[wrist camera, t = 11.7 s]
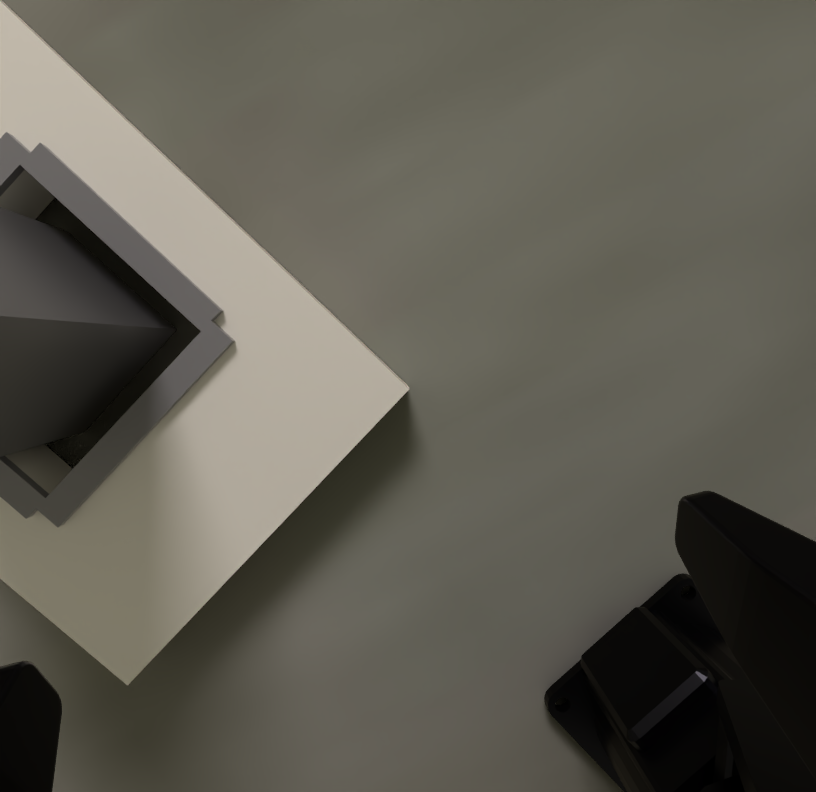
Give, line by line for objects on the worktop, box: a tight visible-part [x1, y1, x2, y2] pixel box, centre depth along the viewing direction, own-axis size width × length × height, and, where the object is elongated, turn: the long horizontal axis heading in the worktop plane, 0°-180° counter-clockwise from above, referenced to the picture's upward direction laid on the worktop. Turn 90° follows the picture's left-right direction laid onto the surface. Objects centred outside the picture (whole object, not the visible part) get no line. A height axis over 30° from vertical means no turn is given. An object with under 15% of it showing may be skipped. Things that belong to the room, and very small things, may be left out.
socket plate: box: [0, 0, 409, 686], centre depth 18 cm, size 17×12×2 cm
